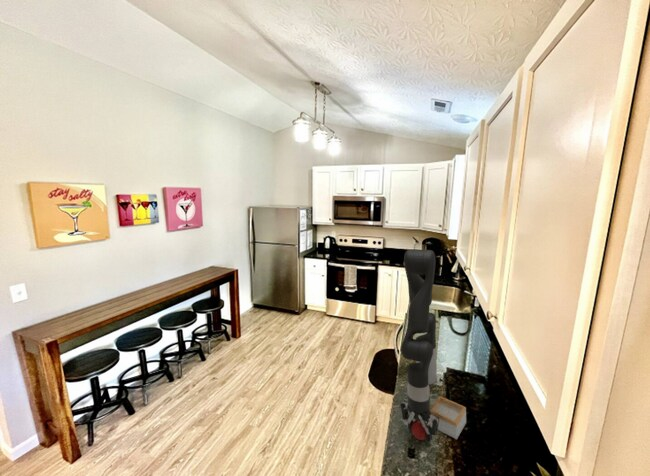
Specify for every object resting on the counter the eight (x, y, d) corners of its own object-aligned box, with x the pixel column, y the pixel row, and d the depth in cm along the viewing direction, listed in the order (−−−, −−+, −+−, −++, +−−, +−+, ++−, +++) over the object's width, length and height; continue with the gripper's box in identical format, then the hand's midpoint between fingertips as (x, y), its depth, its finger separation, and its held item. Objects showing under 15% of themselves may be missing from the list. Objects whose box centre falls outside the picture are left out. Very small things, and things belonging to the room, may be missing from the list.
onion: (408, 439, 100) (408, 419, 99) (416, 429, 104) (415, 410, 103) (424, 448, 96) (423, 428, 95) (431, 438, 100) (430, 418, 99)
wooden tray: (443, 406, 115) (442, 391, 114) (468, 418, 108) (468, 402, 107) (429, 425, 106) (429, 409, 105) (456, 439, 99) (456, 423, 98)
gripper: (442, 396, 95) (443, 440, 97) (405, 380, 106) (406, 420, 108) (433, 409, 90) (435, 454, 92) (395, 390, 100) (396, 432, 102)
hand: (419, 435), depth 100 cm, fingers closed on onion, 6 cm apart
